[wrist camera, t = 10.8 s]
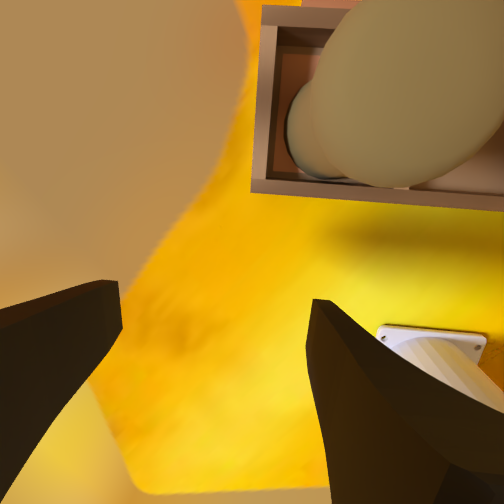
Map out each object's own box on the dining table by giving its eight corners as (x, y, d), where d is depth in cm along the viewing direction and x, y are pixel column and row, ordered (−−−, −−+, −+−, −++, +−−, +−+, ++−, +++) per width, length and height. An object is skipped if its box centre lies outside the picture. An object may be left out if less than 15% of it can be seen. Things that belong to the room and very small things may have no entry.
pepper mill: (364, 48, 15) (566, -192, 5) (398, 151, 17) (607, 139, 6) (266, 105, 16) (257, 11, 6) (306, 196, 18) (355, 248, 8)
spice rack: (636, 216, 18) (706, 227, 15) (253, 187, 19) (250, 192, 16) (728, 42, 15) (838, 14, 12) (264, 19, 16) (263, -12, 13)
